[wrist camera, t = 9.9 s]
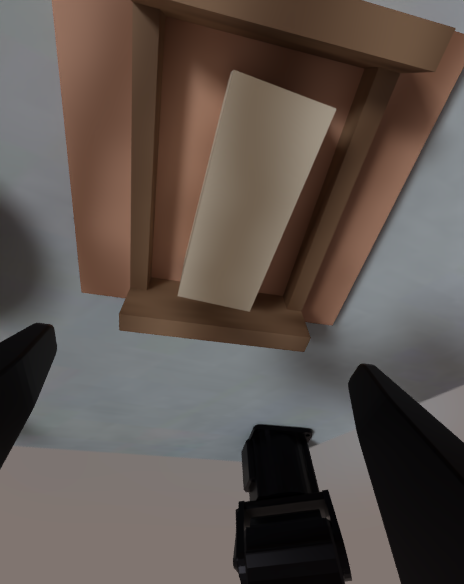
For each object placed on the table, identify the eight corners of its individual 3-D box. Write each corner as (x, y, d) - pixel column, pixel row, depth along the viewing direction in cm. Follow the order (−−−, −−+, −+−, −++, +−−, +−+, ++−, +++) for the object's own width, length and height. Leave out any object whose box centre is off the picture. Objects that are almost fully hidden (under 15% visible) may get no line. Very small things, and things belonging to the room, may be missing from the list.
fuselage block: (309, 102, 15) (336, 109, 11) (244, 273, 20) (249, 311, 17) (230, 72, 14) (233, 69, 10) (184, 258, 19) (177, 296, 16)
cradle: (460, 40, 14) (562, 24, 10) (327, 315, 24) (351, 366, 20) (56, -77, 12) (-34, -165, 8) (87, 282, 21) (55, 333, 17)
